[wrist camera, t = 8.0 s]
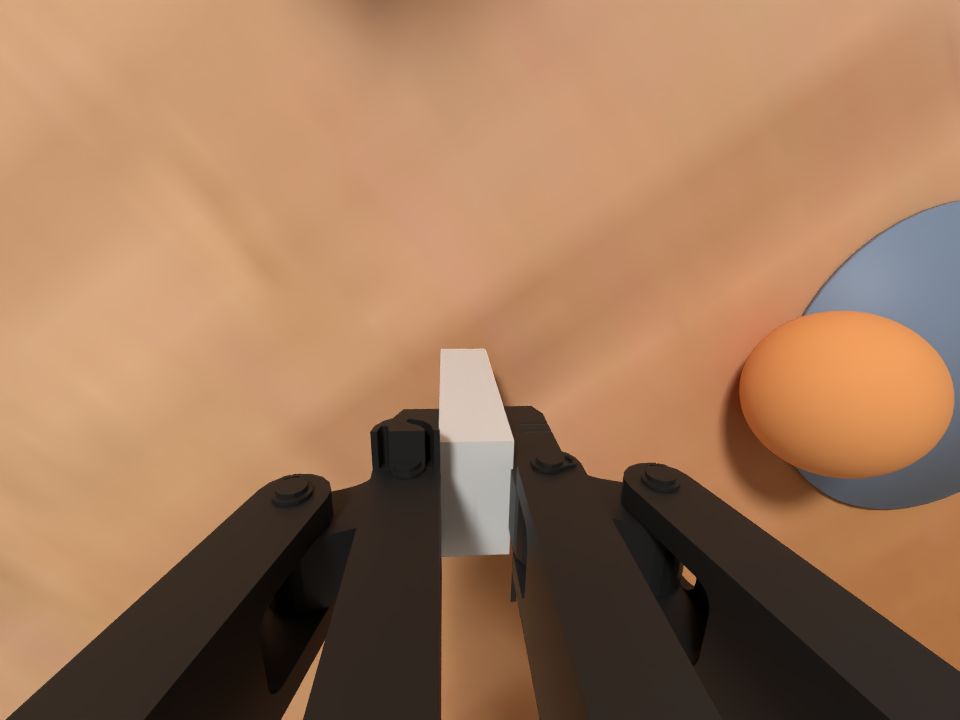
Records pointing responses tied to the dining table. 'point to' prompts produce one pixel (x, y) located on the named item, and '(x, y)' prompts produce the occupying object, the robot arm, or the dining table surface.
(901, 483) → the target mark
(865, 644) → the robot arm
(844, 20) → the dining table surface
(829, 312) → the ball
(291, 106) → the dining table surface
